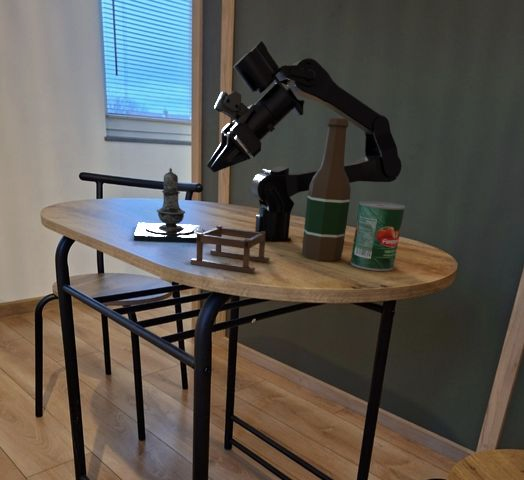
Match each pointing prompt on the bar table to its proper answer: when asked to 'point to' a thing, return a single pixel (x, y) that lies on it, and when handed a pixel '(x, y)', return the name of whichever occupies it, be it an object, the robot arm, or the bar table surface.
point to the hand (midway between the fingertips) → (210, 168)
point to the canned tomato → (377, 235)
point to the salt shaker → (170, 204)
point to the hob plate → (166, 233)
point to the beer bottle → (328, 199)
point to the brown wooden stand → (216, 238)
